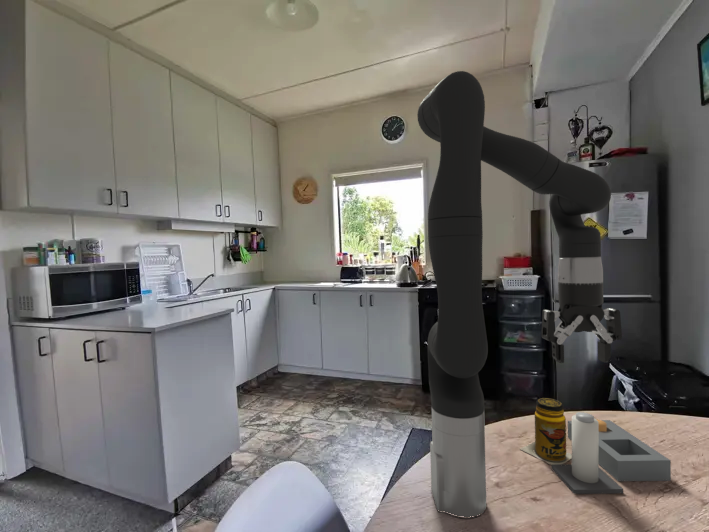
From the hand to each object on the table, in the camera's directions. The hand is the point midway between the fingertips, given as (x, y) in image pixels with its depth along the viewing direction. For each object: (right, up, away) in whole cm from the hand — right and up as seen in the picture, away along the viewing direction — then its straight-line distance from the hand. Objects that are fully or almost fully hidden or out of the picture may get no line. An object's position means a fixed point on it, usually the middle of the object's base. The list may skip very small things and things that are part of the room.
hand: (581, 361), depth 71 cm
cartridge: (0, -22, -1) cm, 22 cm away
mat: (0, -23, -1) cm, 23 cm away
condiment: (-2, -23, +9) cm, 25 cm away
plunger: (+11, -22, +12) cm, 28 cm away
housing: (+11, -23, +7) cm, 26 cm away
